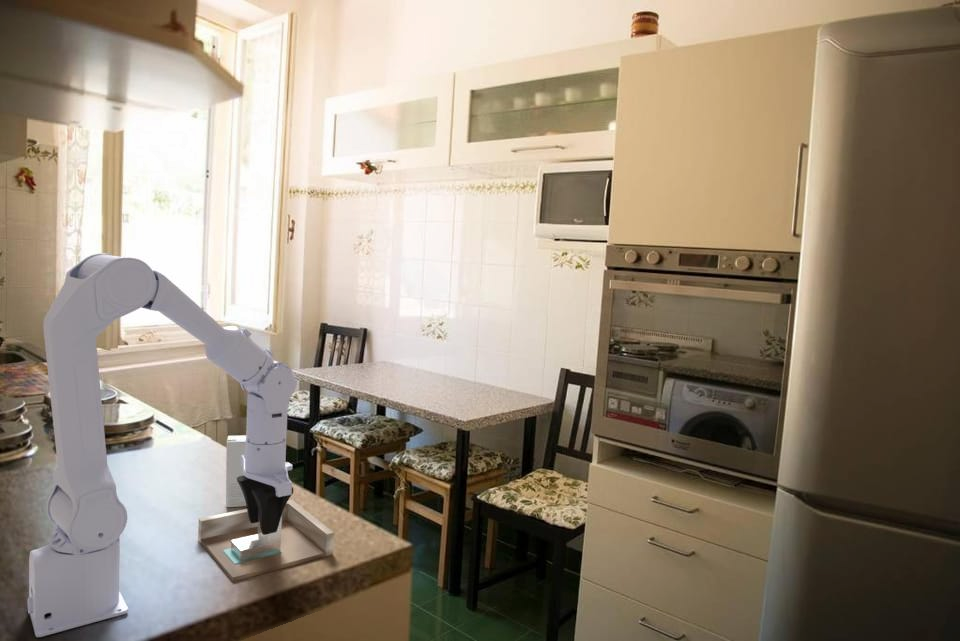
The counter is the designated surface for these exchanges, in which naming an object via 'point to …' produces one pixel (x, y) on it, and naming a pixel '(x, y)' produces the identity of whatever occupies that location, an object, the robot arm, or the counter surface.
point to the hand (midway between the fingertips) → (263, 527)
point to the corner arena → (298, 533)
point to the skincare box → (234, 470)
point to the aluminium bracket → (257, 543)
